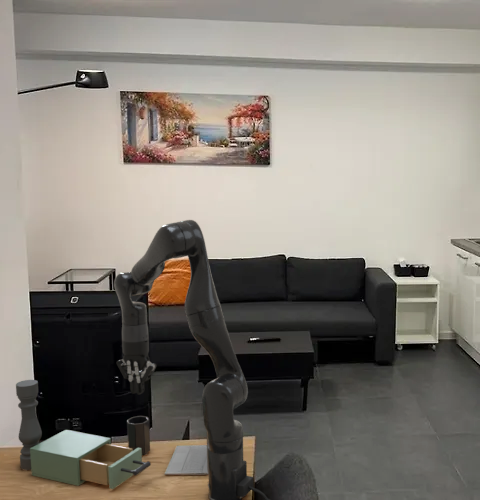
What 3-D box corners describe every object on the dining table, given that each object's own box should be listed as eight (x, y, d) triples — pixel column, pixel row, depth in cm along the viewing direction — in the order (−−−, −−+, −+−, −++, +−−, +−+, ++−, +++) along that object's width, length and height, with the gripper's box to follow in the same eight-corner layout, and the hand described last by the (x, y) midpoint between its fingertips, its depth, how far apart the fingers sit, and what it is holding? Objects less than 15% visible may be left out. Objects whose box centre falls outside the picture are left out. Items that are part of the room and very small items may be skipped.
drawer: (158, 472, 185) (157, 451, 184) (129, 493, 173) (128, 470, 172) (98, 459, 192) (97, 439, 191) (67, 479, 180) (66, 457, 180)
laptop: (176, 447, 202) (175, 407, 200) (217, 447, 203) (216, 407, 201) (164, 476, 184) (162, 432, 183) (208, 475, 185) (208, 431, 183)
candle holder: (34, 471, 187) (29, 387, 183) (15, 468, 188) (9, 386, 184) (48, 461, 193) (43, 380, 189) (30, 459, 194) (24, 378, 190)
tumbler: (154, 450, 201) (152, 417, 199) (141, 458, 195) (139, 425, 193) (137, 446, 203) (136, 414, 201) (124, 455, 197) (122, 422, 195)
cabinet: (112, 464, 191) (110, 438, 190) (78, 486, 179) (76, 458, 177) (67, 454, 197) (66, 429, 196) (31, 475, 184) (29, 448, 183)
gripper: (108, 338, 192) (110, 394, 195) (146, 343, 188) (148, 400, 190) (124, 332, 199) (127, 386, 202) (162, 336, 195) (164, 392, 197)
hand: (137, 393), depth 196 cm, fingers closed
